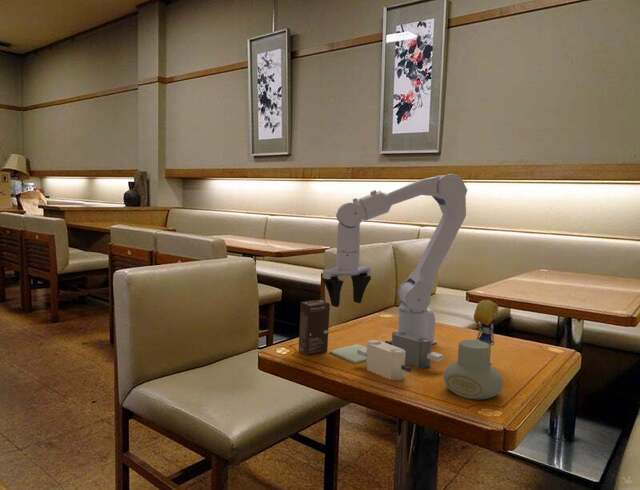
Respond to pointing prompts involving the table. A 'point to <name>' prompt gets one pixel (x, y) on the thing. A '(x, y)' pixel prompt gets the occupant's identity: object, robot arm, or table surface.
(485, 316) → the figurine
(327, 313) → the box
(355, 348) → the sage pad
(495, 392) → the air freshener
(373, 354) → the white plug
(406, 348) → the charcoal plug
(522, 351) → the table surface
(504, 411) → the table surface
